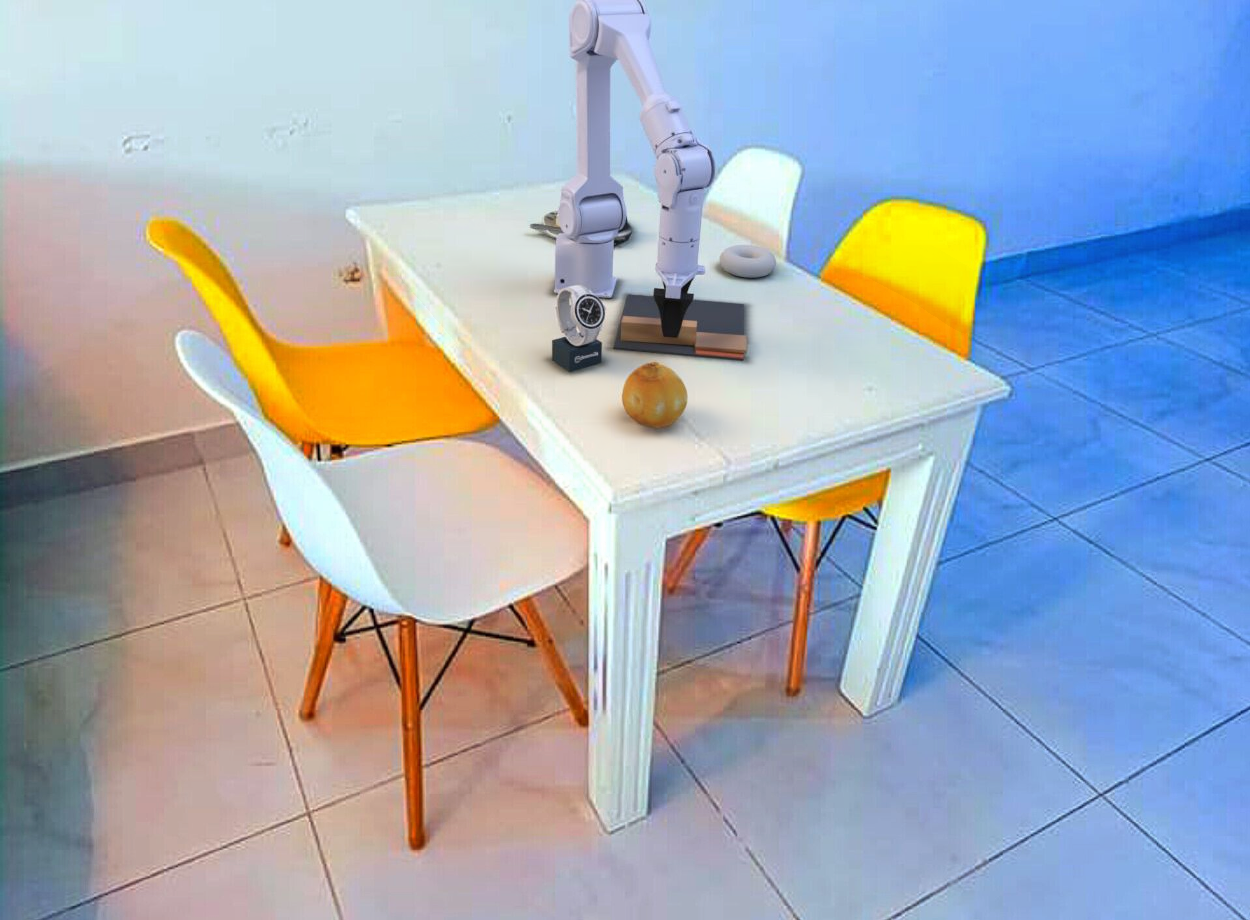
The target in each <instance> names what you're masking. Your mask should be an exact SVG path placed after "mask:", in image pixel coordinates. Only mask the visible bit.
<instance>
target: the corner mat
mask: <svg viewBox="0 0 1250 920" xmlns="http://www.w3.org/2000/svg"><path fill="white" fill-rule="evenodd" d="M623 316H631V317H645V318H660V313H659V309H658V306H657V304H656V302H655V300H654V297H653V295H641V294H632V293H631V294H630V293H629V294H627V296H626V300H625V304H624V307H623V311H622V315H621V318H620V321H619V324H618V329H617V333H616V336H615V340H614V343H613V347H612V349H613V350H622V351H633V352H644V353H656V354H666V355H675V356H677V355H678V356H687V357H688V356H689V357H700V358H701V357H702V358H711V359H721V360H722V359H724V360H734V361H744V359H745V353H732V352H718V351H704V350H695V346H692V345H678V344H664V343H650V342H636V341H622V340H621V322H622V318H623ZM660 319H661V318H660ZM683 320H688V321H697V330H696V332H703V333H717V334H732V335H745V322H744V321H745V304H744V303H737V302H734V303H733V302H724V301H713V300H703V299H702V300H701V299H693V301H692V302H691V304H690V305H689V307H688V309H687V310H686V313H685V315H684V318H683Z"/></svg>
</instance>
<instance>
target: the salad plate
mask: <svg viewBox="0 0 1250 920" xmlns="http://www.w3.org/2000/svg"><path fill="white" fill-rule="evenodd" d="M629 222H630V221H629V220H628V215H627V216H626V221H625V224H624V226H623V228H622V229H621V230H618V237H614V245H619V244H622V243H625V242H626V241H628V240H629V239H630V237H631V235H632V234H633V227H632V225H631V224H630V223H629ZM529 228H530V229H532V230H535V231H539V232H541V233H543V234H545V235H547V236H548V237H550V238H553V239H555V240H557V236H558V234H560V233H564V232H563V231H562V229H561V227H560V224H559V220H558V210H554V211H550V212H548V213H546V214H545V215H544V216H543V217H542V224H541V223H530V224H529Z"/></svg>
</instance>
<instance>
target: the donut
mask: <svg viewBox="0 0 1250 920" xmlns="http://www.w3.org/2000/svg"><path fill="white" fill-rule="evenodd" d="M719 265H720V267H721V268H722V269H723V271H725V272H727V274H730V275H733V276H735V277H739V278H740V277H741V278H746V279H747V278H748V279H757V278H761V277H766V276H768V275H770V274H771V273H772V272H773V271H774V270H775V268H776V266H777V259H776V257H775V254H774V253H773V252H771V251H770V250H768V249H766V248H765V247H762V246H757V245H752V244H736V245H732V246H729V247H727V248H725V249H724V250H723V251H722V252H721V254H720V255H719Z"/></svg>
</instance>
